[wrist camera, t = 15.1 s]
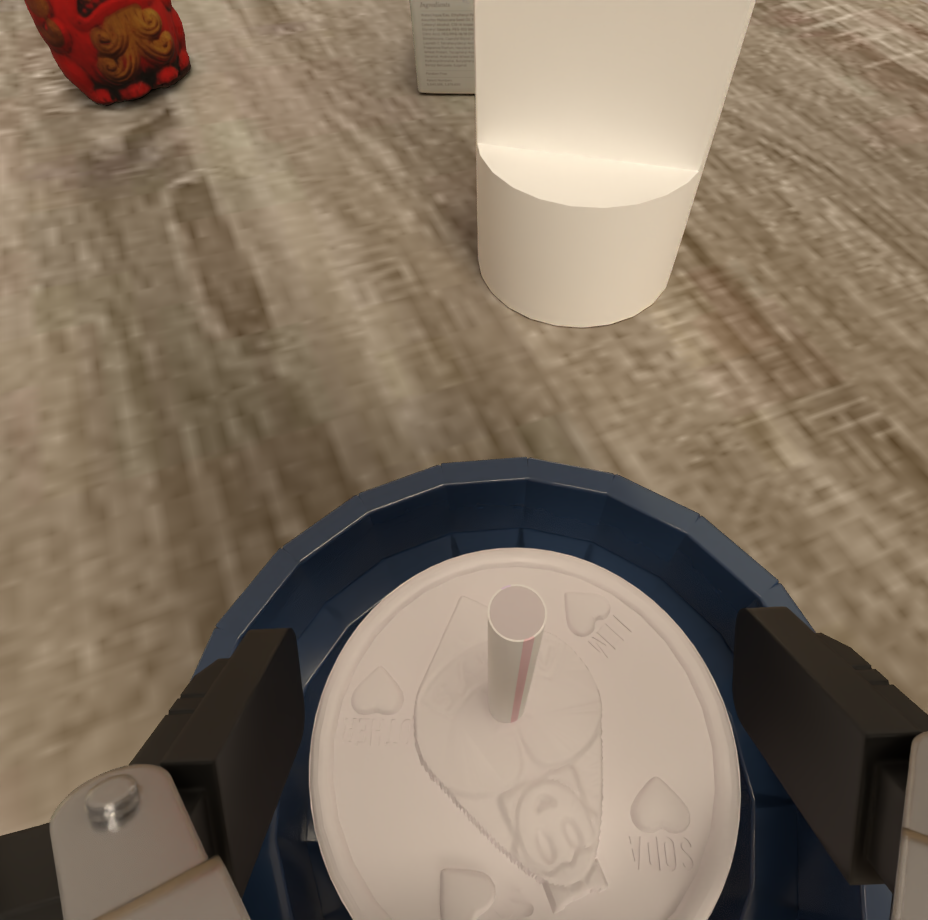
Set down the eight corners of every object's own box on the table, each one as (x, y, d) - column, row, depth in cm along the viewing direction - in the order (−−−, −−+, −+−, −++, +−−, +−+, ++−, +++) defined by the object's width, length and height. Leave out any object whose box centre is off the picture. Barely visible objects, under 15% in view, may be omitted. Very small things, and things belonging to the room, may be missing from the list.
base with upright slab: (680, 210, 32) (771, -99, 21) (661, 343, 27) (766, 32, 17) (502, 185, 33) (508, -114, 23) (456, 308, 28) (438, 3, 18)
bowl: (435, 489, 24) (419, 378, 18) (833, 704, 19) (971, 643, 14) (146, 885, 17) (-13, 899, 12) (636, 1334, 13) (744, 1685, 8)
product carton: (519, 97, 37) (525, -56, 31) (416, 95, 38) (402, -56, 32) (524, 44, 40) (530, -104, 34) (429, 43, 41) (418, -104, 35)
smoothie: (561, 644, 20) (672, 321, 8) (669, 875, 16) (1139, 929, 5) (362, 724, 19) (138, 494, 7) (435, 988, 15) (256, 1437, 4)
